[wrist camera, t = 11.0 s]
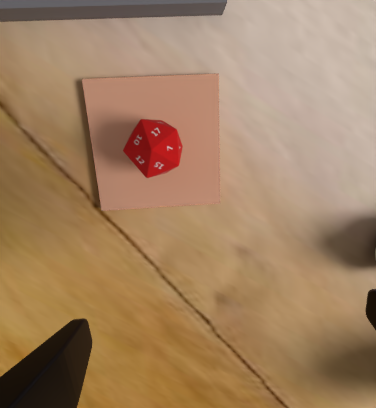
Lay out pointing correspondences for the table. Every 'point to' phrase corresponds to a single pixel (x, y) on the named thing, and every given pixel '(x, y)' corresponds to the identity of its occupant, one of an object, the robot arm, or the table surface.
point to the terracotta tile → (155, 110)
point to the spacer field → (105, 9)
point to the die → (154, 147)
